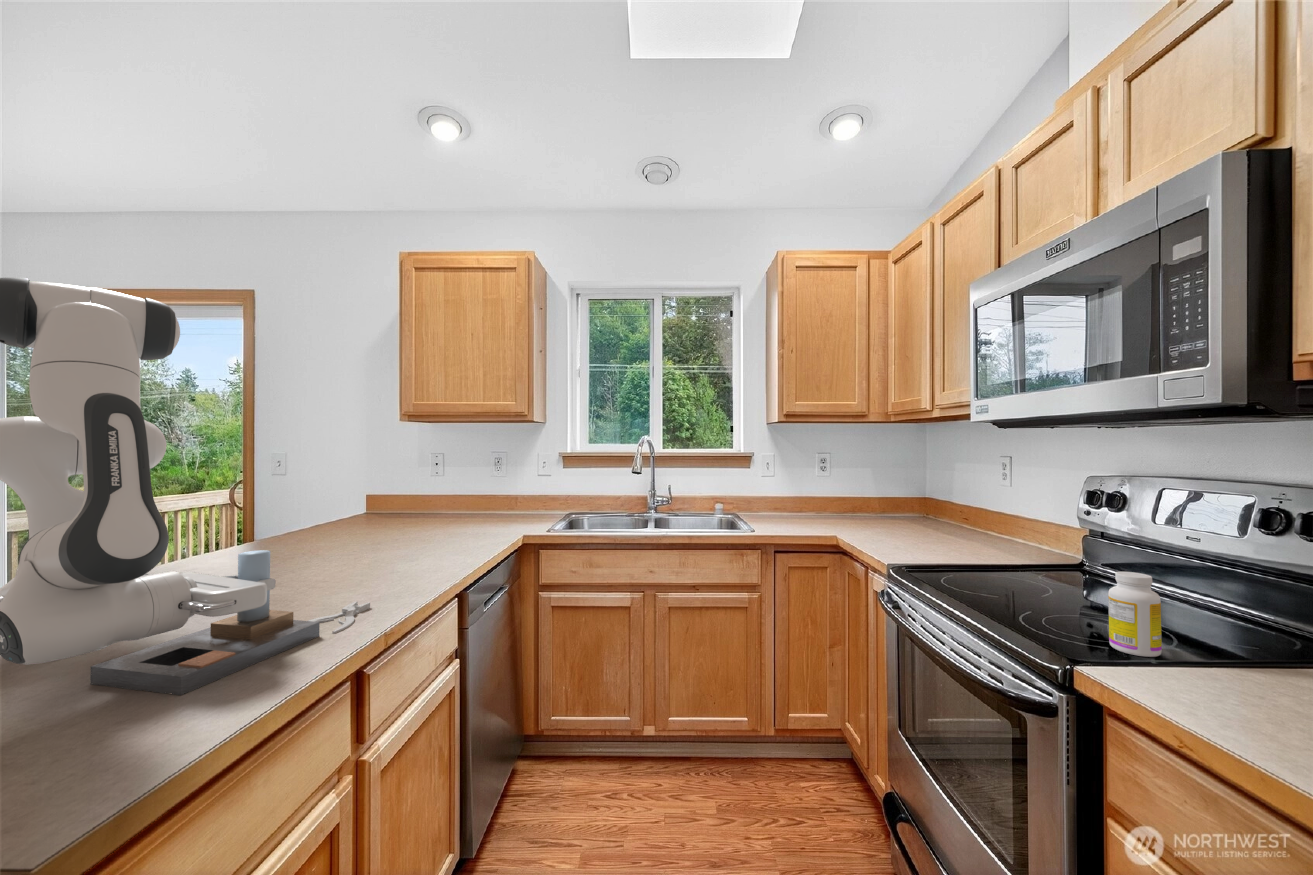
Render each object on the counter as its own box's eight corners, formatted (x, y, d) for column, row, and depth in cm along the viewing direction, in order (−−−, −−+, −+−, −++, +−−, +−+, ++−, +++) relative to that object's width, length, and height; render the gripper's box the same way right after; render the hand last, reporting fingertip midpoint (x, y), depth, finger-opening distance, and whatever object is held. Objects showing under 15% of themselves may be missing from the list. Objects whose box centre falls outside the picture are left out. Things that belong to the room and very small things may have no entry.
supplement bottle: (1151, 647, 92) (1151, 572, 92) (1169, 661, 86) (1168, 581, 86) (1103, 641, 95) (1102, 568, 95) (1116, 654, 89) (1115, 576, 89)
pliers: (285, 624, 97) (340, 600, 112) (284, 633, 97) (340, 608, 112) (336, 626, 97) (385, 602, 112) (336, 635, 97) (385, 610, 111)
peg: (230, 620, 90) (231, 554, 90) (254, 612, 94) (255, 549, 94) (252, 622, 89) (253, 556, 89) (275, 614, 93) (276, 550, 93)
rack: (90, 684, 76) (90, 652, 76) (245, 629, 98) (245, 604, 98) (180, 695, 73) (181, 661, 73) (319, 636, 95) (319, 610, 95)
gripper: (204, 588, 76) (301, 567, 88) (123, 575, 83) (222, 557, 96) (204, 633, 76) (300, 606, 88) (122, 615, 83) (222, 592, 96)
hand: (259, 580), depth 92 cm, fingers open, 5 cm apart
